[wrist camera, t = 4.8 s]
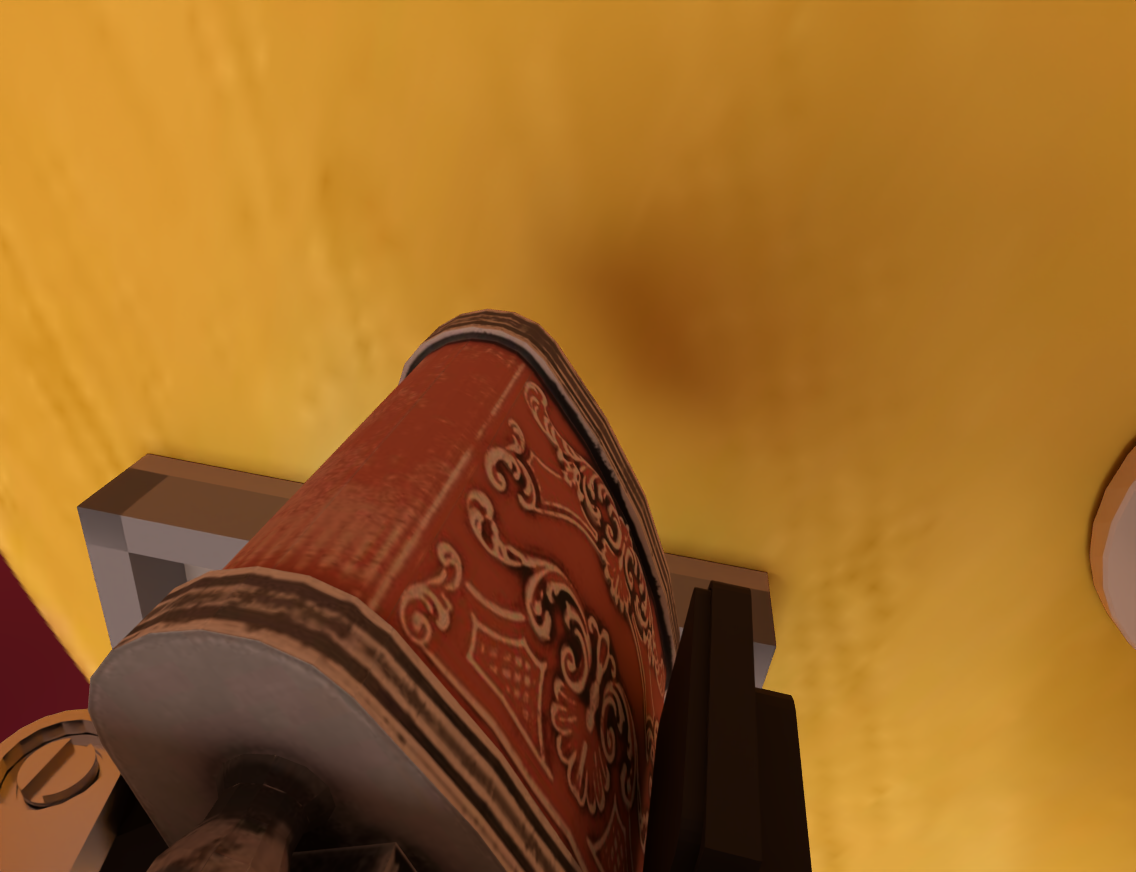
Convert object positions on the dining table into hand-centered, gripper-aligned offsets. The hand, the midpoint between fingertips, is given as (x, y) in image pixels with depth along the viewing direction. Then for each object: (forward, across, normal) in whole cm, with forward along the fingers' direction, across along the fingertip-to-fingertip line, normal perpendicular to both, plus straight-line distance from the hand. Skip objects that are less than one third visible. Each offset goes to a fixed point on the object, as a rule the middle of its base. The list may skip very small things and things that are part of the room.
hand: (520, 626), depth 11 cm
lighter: (+3, 0, 0) cm, 3 cm away
